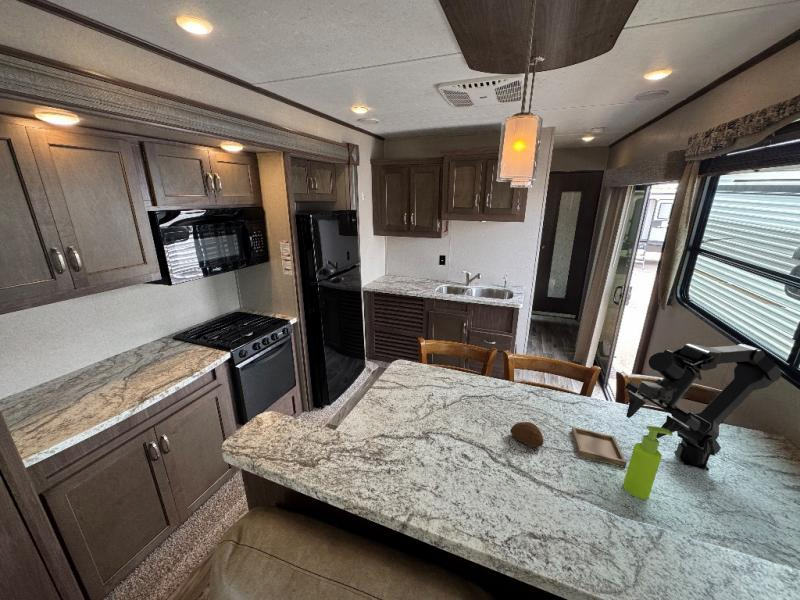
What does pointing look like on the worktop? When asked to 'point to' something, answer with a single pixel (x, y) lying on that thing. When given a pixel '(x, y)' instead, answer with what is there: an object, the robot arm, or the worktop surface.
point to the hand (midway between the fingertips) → (641, 426)
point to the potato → (527, 434)
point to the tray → (598, 446)
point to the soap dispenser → (644, 464)
